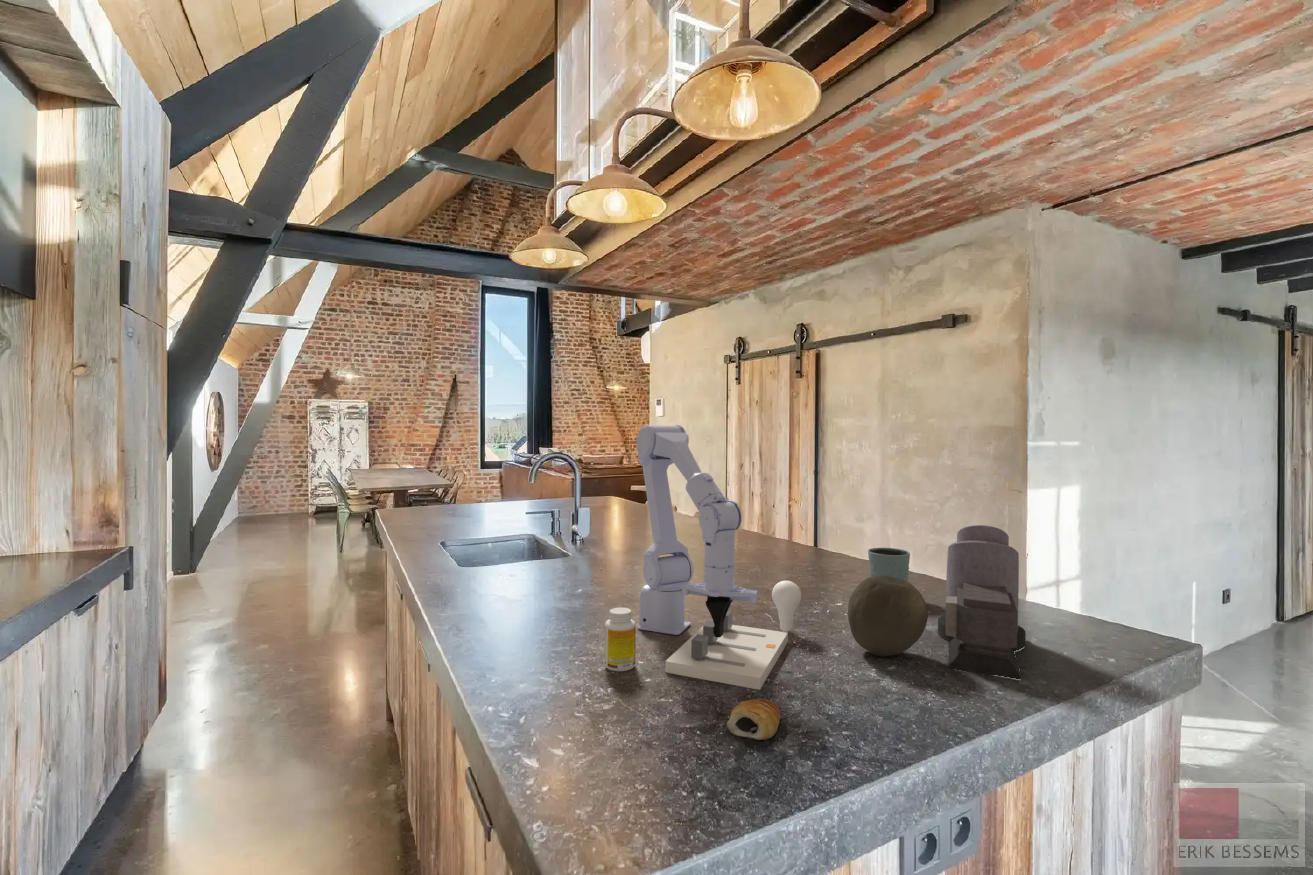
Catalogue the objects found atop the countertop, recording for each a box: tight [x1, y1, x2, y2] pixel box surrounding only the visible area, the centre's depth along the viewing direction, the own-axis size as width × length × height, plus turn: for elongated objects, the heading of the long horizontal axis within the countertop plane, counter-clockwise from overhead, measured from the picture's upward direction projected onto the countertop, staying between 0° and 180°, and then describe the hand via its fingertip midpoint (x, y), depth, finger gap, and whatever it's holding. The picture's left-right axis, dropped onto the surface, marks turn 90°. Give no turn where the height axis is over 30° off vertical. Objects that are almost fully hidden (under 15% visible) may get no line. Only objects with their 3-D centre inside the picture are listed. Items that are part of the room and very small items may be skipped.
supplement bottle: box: [604, 607, 637, 673], centre depth 108 cm, size 6×6×10 cm
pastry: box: [726, 697, 781, 741], centre depth 87 cm, size 9×7×4 cm
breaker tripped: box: [702, 620, 718, 644], centre depth 115 cm, size 2×3×3 cm, turn 157°
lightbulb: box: [771, 580, 802, 633], centre depth 127 cm, size 6×6×11 cm
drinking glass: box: [867, 547, 911, 582], centre depth 154 cm, size 10×10×12 cm
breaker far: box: [724, 610, 733, 631], centre depth 122 cm, size 2×3×3 cm, turn 157°
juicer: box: [937, 524, 1026, 680], centre depth 119 cm, size 30×16×24 cm, turn 153°
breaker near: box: [691, 634, 708, 660], centre depth 107 cm, size 2×3×3 cm, turn 157°
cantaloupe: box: [847, 575, 929, 657], centre depth 115 cm, size 14×14×15 cm
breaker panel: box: [664, 624, 789, 691], centre depth 113 cm, size 17×24×2 cm
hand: (718, 635), depth 114 cm, fingers closed
